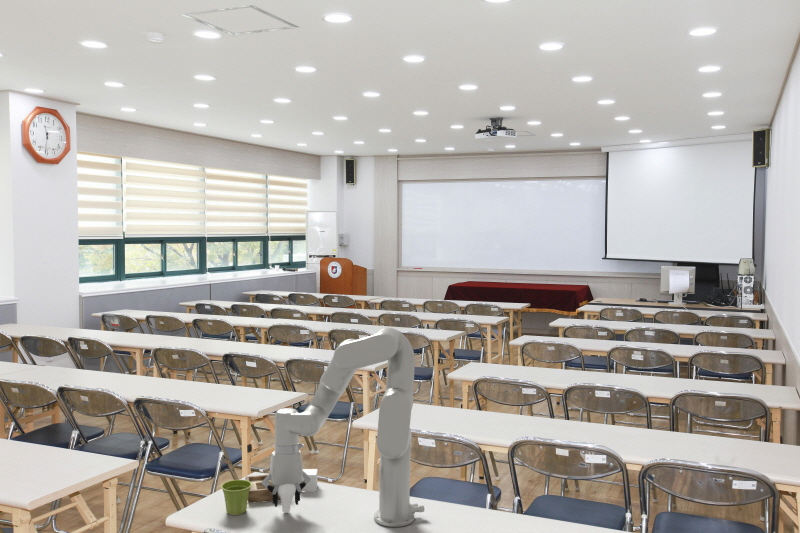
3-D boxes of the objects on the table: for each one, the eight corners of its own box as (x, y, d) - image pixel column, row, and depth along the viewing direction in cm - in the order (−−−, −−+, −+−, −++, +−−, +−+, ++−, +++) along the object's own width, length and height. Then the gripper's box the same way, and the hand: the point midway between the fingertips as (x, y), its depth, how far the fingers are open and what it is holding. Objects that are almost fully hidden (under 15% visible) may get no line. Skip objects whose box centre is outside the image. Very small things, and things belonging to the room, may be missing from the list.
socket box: (285, 484, 240) (285, 473, 240) (291, 499, 227) (291, 487, 227) (245, 487, 236) (245, 476, 236) (248, 503, 223) (248, 491, 222)
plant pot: (252, 515, 213) (253, 488, 213) (222, 519, 210) (222, 491, 210) (250, 504, 222) (250, 478, 221) (220, 507, 219) (220, 481, 219)
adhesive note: (315, 492, 234) (316, 475, 233) (298, 492, 233) (298, 475, 233) (317, 485, 240) (317, 468, 239) (300, 485, 239) (300, 468, 239)
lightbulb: (294, 517, 212) (294, 482, 212) (274, 516, 212) (275, 482, 212) (297, 509, 218) (297, 475, 218) (278, 509, 218) (278, 475, 218)
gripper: (311, 442, 220) (311, 497, 221) (258, 446, 215) (257, 502, 216) (315, 449, 213) (315, 506, 214) (260, 454, 208) (259, 511, 209)
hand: (286, 503), depth 215 cm, fingers closed on lightbulb, 5 cm apart
